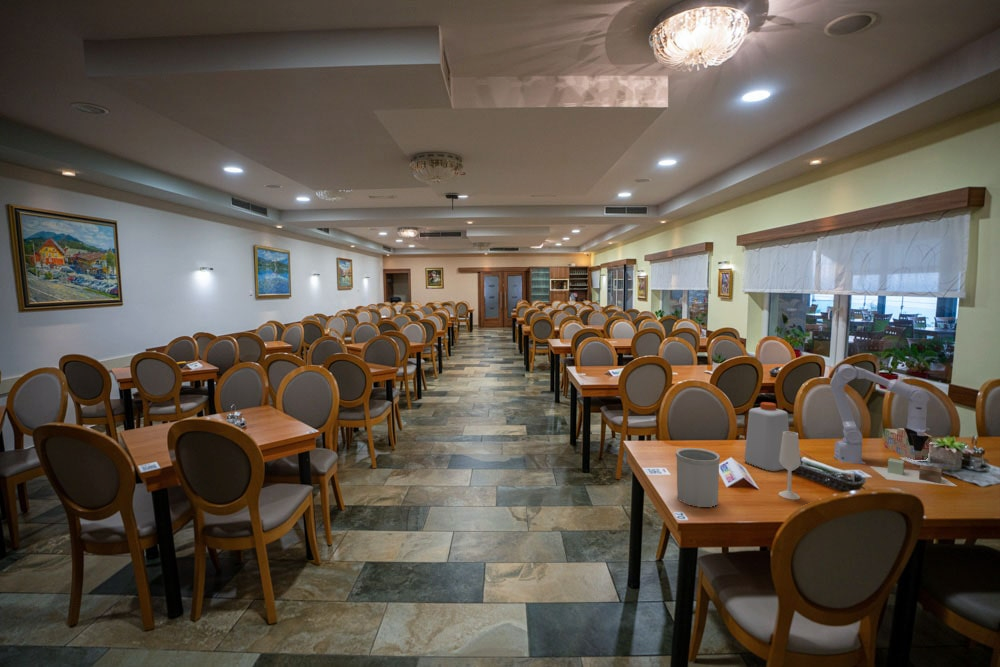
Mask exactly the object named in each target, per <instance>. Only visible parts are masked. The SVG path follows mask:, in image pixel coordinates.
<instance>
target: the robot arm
mask: <svg viewBox="0 0 1000 667" xmlns="http://www.w3.org/2000/svg"><path fill="white" fill-rule="evenodd" d="M854 379H857V380H861V379H863V380H864V379H866V380H869V381H871V382H873V383H875V384H876V383H877V384H879V385H882V386H884V387H886V390H887V391H889V392H891V393H893V394H894V395H897V396H899V397H903V399H904V398H905V399H908V405H907V422H906V423H907V424H906V426H905V428H904V430H905V432H906V434H907V437H908V442H909V445H911V446H913V447H914V450H915V451H922V449H923V446H924V444H925V442H926V440H927V439H928V438H929V436H925V432H926V431H930V430H931V429H930V428H929V427H927V412H928V407H927V406H928V402H929V401H930V399H931V398H930V396H929V394H928V392H926V391H925V390H924V389H922V388H920V387H917V386H916V385H912V384H909V383H906V382H904V380H903V379H900V378H899V379H896V378H895V379H888V378H885V377H883V376H881V375H879V374H876V373H875V372H872V371H870V370H867V369H865V368H862V367H859V366H855V365H854V366H853V365H852V364H848V363H843V364H842V363H841V364H840V365H838V367H836V369H835V370H834V372H833V375H832V378H831V380H830V383H829V386H830V389H831V392H832V395H833V397H834V402H835V405H836V407H837V410H838V412H839V413H838V414H839V416H840V418H841V422H842V423H841V424H842V426H843V428H842V434H843V435H844V437H843V438H842V439H841V440H836V441H834V442H835V443H834V455H833V458H835V459H836V460H838V461H839V462H840V463H850V464H860V465H861V464H862V465H866V462H865V461H863V440H864V438H863V434H862V433H861V431H860V428H859V427H857V425H856V422H855V419H854V418H855V417H854V416H853V412H852V410H851V406H850V404H849V400H848V397H847V394H846V391H845V388H844V387H845V386H846V385H848V383H849V382H851V381H853V380H854Z"/></svg>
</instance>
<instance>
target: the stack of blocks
mask: <svg viewBox="0 0 1000 667" xmlns="http://www.w3.org/2000/svg"><path fill="white" fill-rule="evenodd" d="M883 433H884V438H883V440H884V444H883V445H884V446H885V447H884V448H886V447H887V448H886V449H888V448H889V449H888V450H890V451H892V452H894V453H896V454H898V455H900V456H903V457H905V458H906V457H907V458H906V459H908V458H910V459H913V460H926V459H927V458H928V453H929V443H930V442H932V443H933V436H932V435H930V434H927V433H925V436H929V438H928V439H927V440H926V442H925V444H924V446H923V449H922V451H915V450H914V447H913V446H911V445H909V442H908V437H907V434H906V432H905V430H904V428H903V427H898V428H897V429H896V428H884V432H883ZM910 459H909V460H910Z"/></svg>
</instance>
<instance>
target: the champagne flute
mask: <svg viewBox="0 0 1000 667" xmlns="http://www.w3.org/2000/svg"><path fill="white" fill-rule="evenodd" d="M799 440H800V439H799V433H798V432H795V431H790V430H789V431H784V432H783V436H782V443H781V451H780V458H779V461H780V463H781V465H782V466H783V467H784V468H785V469H786V470H787V482H786V483H787V486H786V487H787V488H786V490H783V491H779V492H778V495H779V496H781V497H782V498H784V499H789V500H799V499H800V497H801V496H800V495H798V494H797V493H795V492H794V491H792V471H795V470H797V469H798V468H799V467H800V466H801V465H802V463H801V451H800V441H799ZM785 469H784V470H785Z"/></svg>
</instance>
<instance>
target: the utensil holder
mask: <svg viewBox="0 0 1000 667" xmlns="http://www.w3.org/2000/svg"><path fill="white" fill-rule="evenodd" d="M675 457H676V487H677V490H676V491H677V499H678V498H679V499H680V500H681V501H682V503H683V502H684V503H683V504H685V503H687V504H690V505H693V506H692V507H694V506H698V507H697V508H700V507H710V508H713V507H712V506H714V507H716V506H718V505H719V504H718V503H719V483H720V482H719V481H720V480H719V479H720V461H721V456H720V454H718V453H717V452H716V451H713V450H710V449H704V448H695V447H685V448H679V449H677V450H676V451H675ZM679 499H678V500H679ZM680 500H679V501H680ZM681 501H680V502H681ZM687 504H686V505H687ZM690 505H689V506H690ZM715 505H716V506H715Z"/></svg>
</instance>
